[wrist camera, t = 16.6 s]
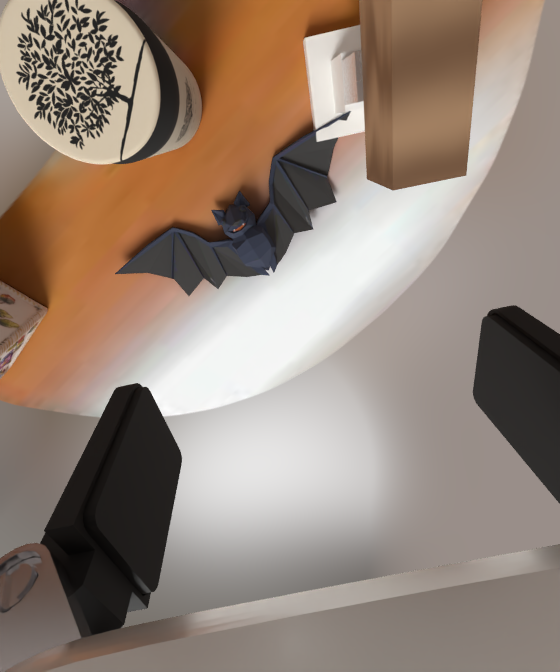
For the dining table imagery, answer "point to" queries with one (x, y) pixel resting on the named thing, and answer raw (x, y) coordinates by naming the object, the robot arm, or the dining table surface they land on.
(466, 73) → the wooden block
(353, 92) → the fulcrum stand
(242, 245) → the decorative bat
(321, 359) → the dining table surface
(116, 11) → the travel mug
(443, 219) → the dining table surface
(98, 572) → the robot arm
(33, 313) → the decorative jar
